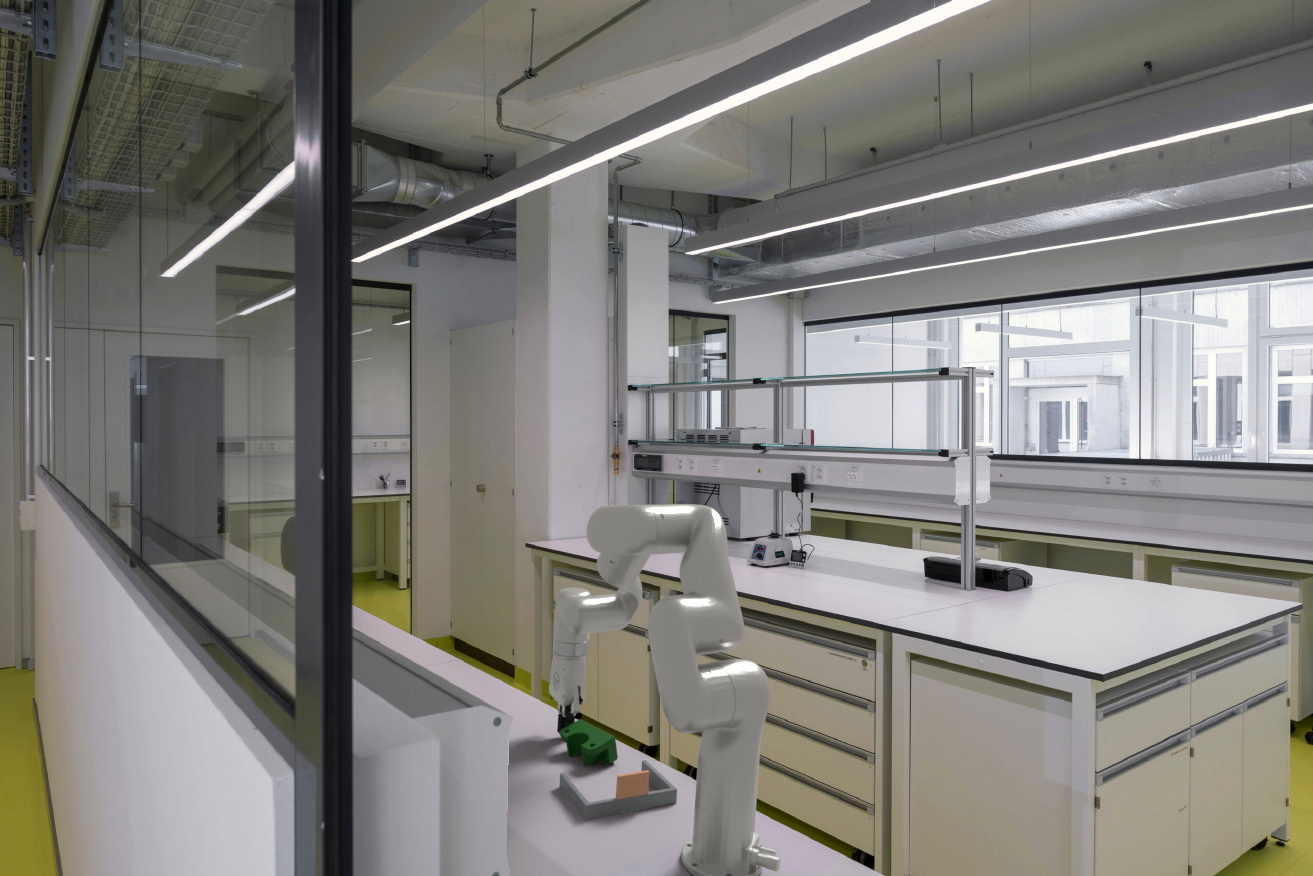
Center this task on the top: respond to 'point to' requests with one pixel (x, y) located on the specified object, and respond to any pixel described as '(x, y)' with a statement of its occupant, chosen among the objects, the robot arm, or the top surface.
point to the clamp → (589, 742)
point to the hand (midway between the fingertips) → (565, 732)
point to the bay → (624, 794)
